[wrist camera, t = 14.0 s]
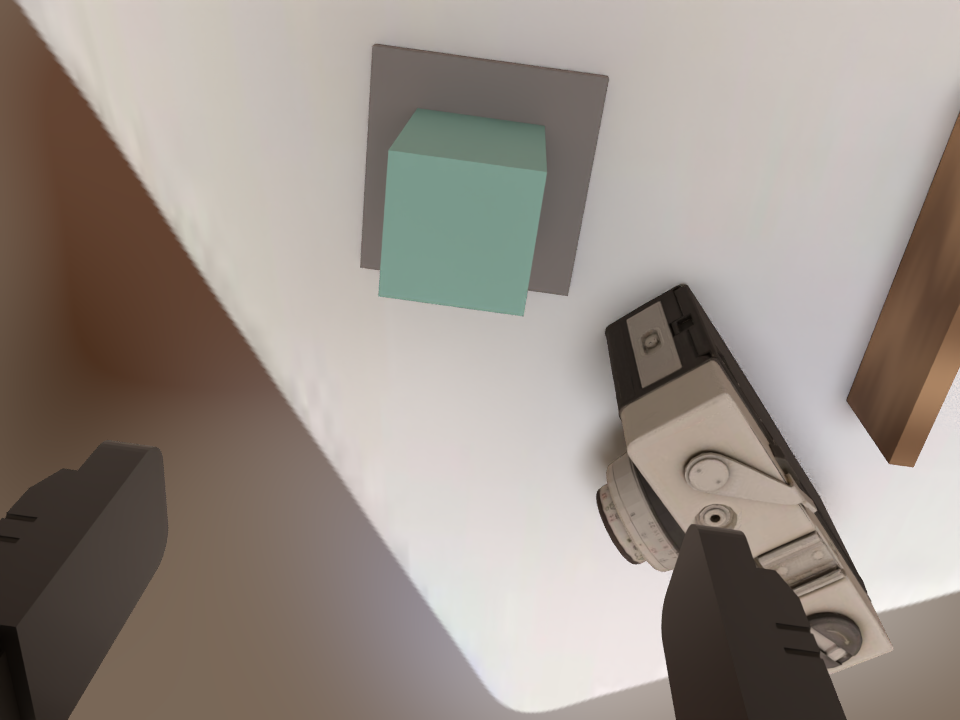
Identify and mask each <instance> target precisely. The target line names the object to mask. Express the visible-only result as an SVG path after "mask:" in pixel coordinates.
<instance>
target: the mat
mask: <svg viewBox="0 0 960 720" xmlns="http://www.w3.org/2000/svg"><path fill="white" fill-rule="evenodd" d="M608 81H609V78H608V76H604V75H597V74H590V73H582V72H575V71H568V70H561V69H554V68H546V67H539V66H532V65H525V64H517V63H510V62H503V61H496V60H488V59H481V58H474V57H467V56H459V55H452V54H445V53H438V52H430V51H423V50H416V49H409V48H402V47H394V46H387V45H380V44H375V45H373V48H372V66H371V84H370V102H369V120H368V138H367V156H366V174H365V192H364V210H363V228H362V246H361V264H360V268H368V269H375V270H380V265H381V251H382V236H383V222H384V207H385V193H386V179H387V164H388V150H389V149H390V147H391V146H392V144H393V143H394V141H395V140H396V139H397V137H398V136H399V134H400V133H401V131H402V130H403V128H404V127H405V125H406V124H407V123H408V121H409V120H410V118H411V117H412V115H413V114H414V112H415V111H416V109H417V108H420V109H428V110H435V111H442V112H449V113H456V114H464V115H471V116H478V117H485V118H492V119H500V120H507V121H514V122H521V123H528V124H536V125H543V126H545V141H546V161H547V176H546V182H545V188H544V194H543V200H542V206H541V212H540V218H539V224H538V230H537V237H536V243H535V249H534V255H533V261H532V267H531V273H530V279H529V285H528V291H535V292H543V293H550V294H557V295H565V296H568V292H569V287H570V282H571V277H572V271H573V266H574V261H575V255H576V250H577V245H578V239H579V234H580V229H581V224H582V218H583V213H584V208H585V202H586V197H587V192H588V187H589V181H590V176H591V171H592V165H593V160H594V155H595V150H596V144H597V139H598V134H599V128H600V123H601V118H602V113H603V107H604V102H605V97H606V91H607V86H608Z"/></svg>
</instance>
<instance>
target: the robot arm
mask: <svg viewBox="0 0 960 720" xmlns="http://www.w3.org/2000/svg"><path fill="white" fill-rule="evenodd" d="M167 518H168V517H167V506H166V492H165V480H164V467H163V457H162V453H161V451H160V449H159V448H157V447H153V446H145V445H139V444H132V443H125V442H118V441H110V440H107V441H104V442H103V443H101V444H100V445H99V446H98V447H97V449H96V450H95V451H94V452H93V453H92V454H91V455H90V457H89V458H88V459H87V460H86V461H85V463H84V464H83V465H82V466H81V467H80V469H79V470H78V471H77V470H70V469H61V470H59V471H58V472H56V473H54V474H53V475H51V476H49V477H48V478H46V479H44V480H42V481H41V482H39V483H37V484H36V485H34V486H32V487H30V488H29V489H28V490H27V491H26V492H25V493H24V494H23V496H22V497H21V498H20V499H19V500H18V501H17V502H16V503H15V504H14V505H13V507H12V508H11V509H10V510H9V511H8V512H7V515H6V518H5V519H4V518H2V519H1V520H0V720H68V718H69V716H70V715H71V713H72V711H73V710H74V708H75V706H76V705H77V703H78V701H79V700H80V698H81V696H82V694H83V693H84V691H85V690H86V688H87V686H88V684H89V683H90V681H91V679H92V678H93V676H94V674H95V673H96V671H97V669H98V668H99V666H100V664H101V663H102V661H103V659H104V658H105V656H106V654H107V652H108V651H109V649H110V647H111V646H112V644H113V643H114V640H115V639H116V637H117V636H118V634H119V632H120V631H121V629H122V627H123V626H124V624H125V622H126V620H127V619H128V617H129V616H130V614H131V612H132V611H133V609H134V607H135V605H136V604H137V602H138V601H139V599H140V597H141V596H142V594H143V592H144V590H145V589H146V587H147V585H148V583H149V582H150V580H151V579H152V577H153V575H154V574H155V572H156V570H157V569H158V567H159V565H160V562H161V560H162V557H163V554H164V551H165V547H166V543H167V536H168V519H167ZM661 629H662V642H663V648H664V653H665V659H666V665H667V671H668V676H669V682H670V687H671V694H672V699H673V705H674V711H675V717H676V720H847V719H846V717H845V714H844V711H843V709H842V706H841V704H840V701H839V699H838V696H837V693H836V691H835V688H834V686H833V683H832V681H831V678H830V676H829V673H828V670H827V668H826V665H825V663H824V660H823V659H821V658H820V653H821V652H820V650H819V647H818V645H817V642H816V639H815V637H814V634H812V633H811V632H810V630H811V627H810V624H809V621H808V619H807V616H806V614H805V611H804V609H803V606H802V603H801V601H800V598H799V597H798V596H797V595H796V593H795V592H794V591H793V590H792V589H791V588H790V587H789V585H788V584H787V583H786V582H785V581H784V580H783V578H782V577H781V576H780V575H779V574H778V573H777V571H776V570H771V569H764V568H757V567H756V565H755V562H754V559H753V556H752V553H751V550H750V547H749V544H748V541H747V538H746V536H745V534H744V533H743V532H742V531H740V530H734V529H727V528H719V527H712V526H705V525H698V524H691V525H690V526H689V527H688V529H687V531H686V533H685V536H684V539H683V542H682V545H681V548H680V552H679V555H678V558H677V561H676V564H675V567H674V570H673V574H672V577H671V580H670V583H669V586H668V589H667V592H666V596H665V599H664V604H663V610H662V624H661Z"/></svg>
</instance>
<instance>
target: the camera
mask: <svg viewBox="0 0 960 720" xmlns="http://www.w3.org/2000/svg"><path fill="white" fill-rule="evenodd" d="M605 335H606V338H607V344H608V350H609V356H610V363H611V369H612V375H613V379H614V384H615V391H616V399H617V404H618V409H619V417H620V419H621V420H622V425H623V430H624V436H625V442H626V448H627V453H625V454H624V455H622V456H621V457H620V458H618V459H617V460H615V461H614V462H613V463H611V464H610V465H609V466H608V468H607V472H606V475H607V483H608V484H606V485H604V486H602V487H601V488H600V489H598V491H597V494H596V500H597V506H598V509H599V513H600V516H601V519H602V521H603V523H604V526H605V528H606V530H607V532H608V534H609V536H610V538H611V540H612V542H613V543H614V545H615V546H616V547H617V549H618V550H619V552H620V553H621V555H622V556H623V557H624V558H625V559H626V560H627V561H629V562H630V563H632V564H641V563H643V562H645V561H647V562H648V563H649V564H650V565H651V566H652V567H653V568H654V569H656V570H658V571H661V572H666V571H669V570H673V569H674V567H675V564H676V561H677V558H678V555H679V552H680V548H681V545H682V542H683V539H684V536H685V533H686V531H687V529H688V527H689V526H690V525H691V524H698V525H705V526H712V527H719V528H727V529H734V530H740V531H742V532H743V533H744V534H745V536H746V538H747V541H748V544H749V547H750V550H751V553H752V556H753V559H754V562H755V565H756V567H757V568H764V569H771V570H776V571H777V573H778V574H779V575H780V576H781V577H782V578H783V580H784V581H785V582H786V583H787V584H788V585H789V587H790V588H791V589H792V590H793V591H794V592H795V593H796V595H797V596H798V597H799V598H800V601H801V603H802V606H803V609H804V611H805V614H806V616H807V619H808V621H809V624H810V627H811V630H810V632H811V633H812V634H814V637H815V639H816V642H817V645H818V647H819V650H820V652H821V653H820V658H821V659H823V660H824V663H825V665H826V668H827V670H828V673H829V675H830V674H833V673H835V672H838V671H840V670H843V669H846V668H848V667H851V666H853V665H856V664H859V663H862V662H864V661H867V660H869V659H872V658H875V657H877V656H880V655H883V654H885V653H888V652H891V651H892V650H893V646H892V644H891V642H890V640H889V638H888V636H887V634H886V632H885V630H884V628H883V626H882V624H881V622H880V619H879V618H878V615H877V613H876V611H875V609H874V607H873V605H872V603H871V600H870V598H869V596H868V595H867V590H866V588H865V585H864V582H863V580H862V579H861V577H860V576H859V574H858V572H857V570H856V568H855V566H854V564H853V562H852V560H851V558H850V556H849V554H848V552H847V550H846V548H845V546H844V544H843V542H842V540H841V538H840V536H839V534H838V532H837V530H836V528H835V526H834V524H833V522H832V520H831V518H830V516H829V514H828V512H827V510H826V508H825V506H824V504H823V502H822V500H821V498H820V496H819V495H818V493H817V491H816V490H815V488H814V487H813V485H812V483H811V482H810V480H809V479H808V477H807V475H806V474H805V472H804V471H803V469H802V467H801V466H800V464H799V463H798V461H797V459H796V458H795V456H794V455H793V453H792V452H791V450H790V448H789V447H788V445H787V443H786V442H785V440H784V438H783V437H782V435H781V433H780V432H779V430H778V429H777V427H776V425H775V424H774V422H773V420H772V419H771V417H770V415H769V414H768V412H767V410H766V409H765V407H764V405H763V404H762V402H761V401H760V399H759V397H758V396H757V394H756V392H755V391H754V389H753V388H752V386H751V384H750V383H749V381H748V380H747V378H746V376H745V375H744V373H743V372H742V370H741V368H740V367H739V365H738V364H737V362H736V360H735V359H734V357H733V356H732V354H731V352H730V351H729V349H728V348H727V346H726V344H725V343H724V341H723V340H722V338H721V337H720V335H719V334H718V332H717V330H716V329H715V327H714V326H713V324H712V323H711V321H710V319H709V318H708V316H707V315H706V313H705V312H704V310H703V308H702V307H701V305H700V304H699V302H698V301H697V299H696V297H695V296H694V294H693V293H692V291H691V290H690V288H689V287H688V286H687V285H684V286H682V287H680V286H676V287H675V288H673V289H671V290H669V291H667V292H665V293H664V294H662V295H660V296H658V297H657V298H655V299H653V300H651V301H650V302H648V303H646V304H644V305H643V306H641V307H639V308H637V309H636V310H634V311H632V312H631V313H629V314H627V315H626V316H624V317H622V318H621V319H619V320H617V321H616V322H614V323H612V324H611V325H609V326H608V327H607V328H606V331H605Z"/></svg>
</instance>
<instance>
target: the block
mask: <svg viewBox="0 0 960 720" xmlns="http://www.w3.org/2000/svg"><path fill="white" fill-rule="evenodd" d="M546 176H547V161H546V141H545V126H543V125H536V124H528V123H521V122H514V121H507V120H500V119H492V118H485V117H478V116H471V115H464V114H456V113H449V112H442V111H435V110H428V109H420V108H417V109H416V111H415V112H414V114H413V115H412V117H411V118H410V120H409V121H408V123H407V124H406V125H405V127H404V128H403V130H402V131H401V133H400V134H399V136H398V137H397V139H396V140H395V141H394V143H393V144H392V146H391V147H390V149H389V150H388V164H387V179H386V193H385V207H384V222H383V236H382V251H381V265H380V280H379V294H378V296H380V297H387V298H395V299H402V300H409V301H416V302H424V303H431V304H438V305H445V306H453V307H460V308H467V309H474V310H482V311H489V312H496V313H503V314H511V315H518V316H524V310H525V304H526V298H527V291H528V285H529V279H530V273H531V267H532V261H533V255H534V249H535V243H536V237H537V230H538V224H539V218H540V212H541V206H542V200H543V194H544V188H545V182H546Z"/></svg>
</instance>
